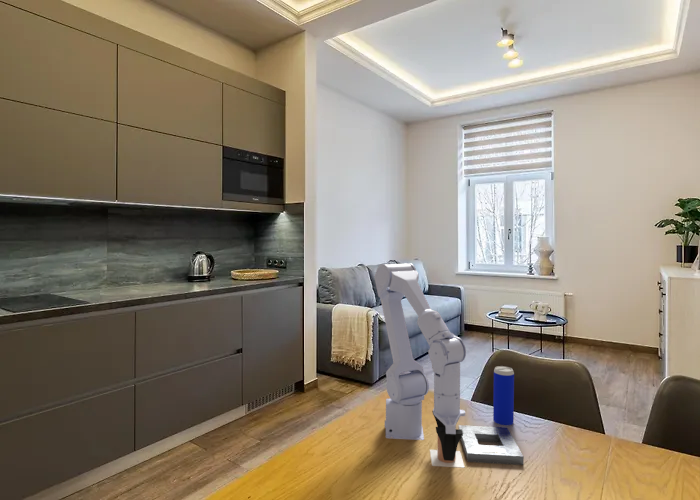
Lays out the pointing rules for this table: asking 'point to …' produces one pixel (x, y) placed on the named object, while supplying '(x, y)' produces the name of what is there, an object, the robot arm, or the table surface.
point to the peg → (440, 454)
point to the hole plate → (489, 453)
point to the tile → (437, 462)
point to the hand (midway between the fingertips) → (446, 450)
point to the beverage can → (503, 396)
